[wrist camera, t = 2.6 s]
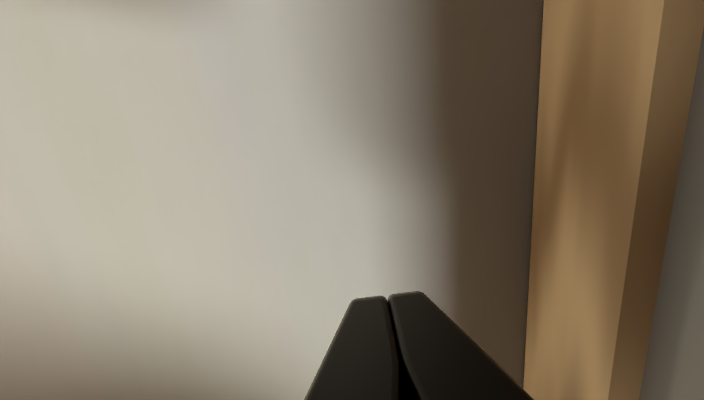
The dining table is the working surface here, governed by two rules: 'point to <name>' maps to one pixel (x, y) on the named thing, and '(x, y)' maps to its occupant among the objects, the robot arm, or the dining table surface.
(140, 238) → the dining table surface
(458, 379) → the robot arm
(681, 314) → the pale grey box
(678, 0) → the deck
